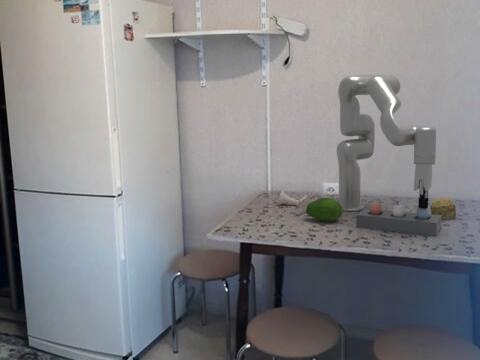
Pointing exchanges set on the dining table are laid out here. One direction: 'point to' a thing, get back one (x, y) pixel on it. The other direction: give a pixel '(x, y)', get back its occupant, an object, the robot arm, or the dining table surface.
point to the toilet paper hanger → (289, 199)
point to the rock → (443, 208)
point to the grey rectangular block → (399, 222)
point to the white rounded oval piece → (398, 211)
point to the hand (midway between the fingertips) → (423, 207)
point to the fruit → (324, 209)
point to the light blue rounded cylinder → (422, 213)
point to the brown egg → (375, 208)
